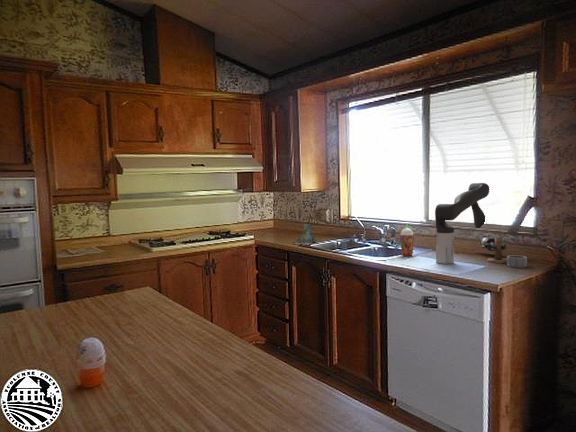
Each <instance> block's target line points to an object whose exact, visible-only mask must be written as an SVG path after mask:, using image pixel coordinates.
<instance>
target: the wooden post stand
mask: <svg viewBox="0 0 576 432" xmlns="http://www.w3.org/2000/svg"><path fill="white" fill-rule="evenodd" d="M494 239H495V246H497V250H495V251H494V257H488V258H487V260H486V261H487V262H488V263H493V264H507V257H506V258H505V257H503V251H502V244H503V238H502V237H498V236H495V237H494Z"/></svg>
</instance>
